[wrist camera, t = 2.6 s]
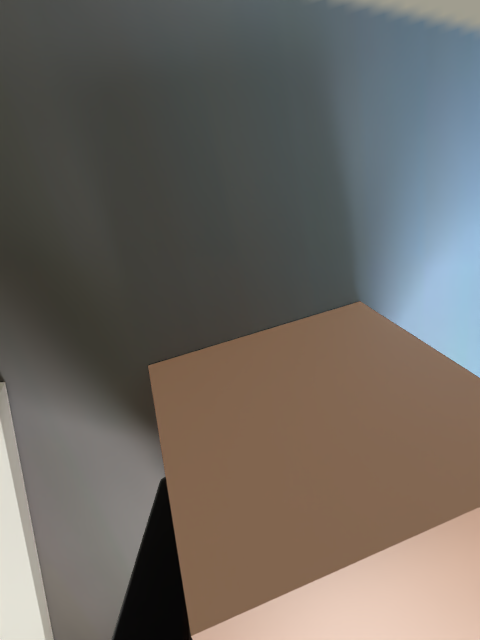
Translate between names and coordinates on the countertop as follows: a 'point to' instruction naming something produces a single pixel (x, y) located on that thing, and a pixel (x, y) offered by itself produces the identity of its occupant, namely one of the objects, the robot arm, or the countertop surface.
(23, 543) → the board
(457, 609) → the block
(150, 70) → the countertop surface
